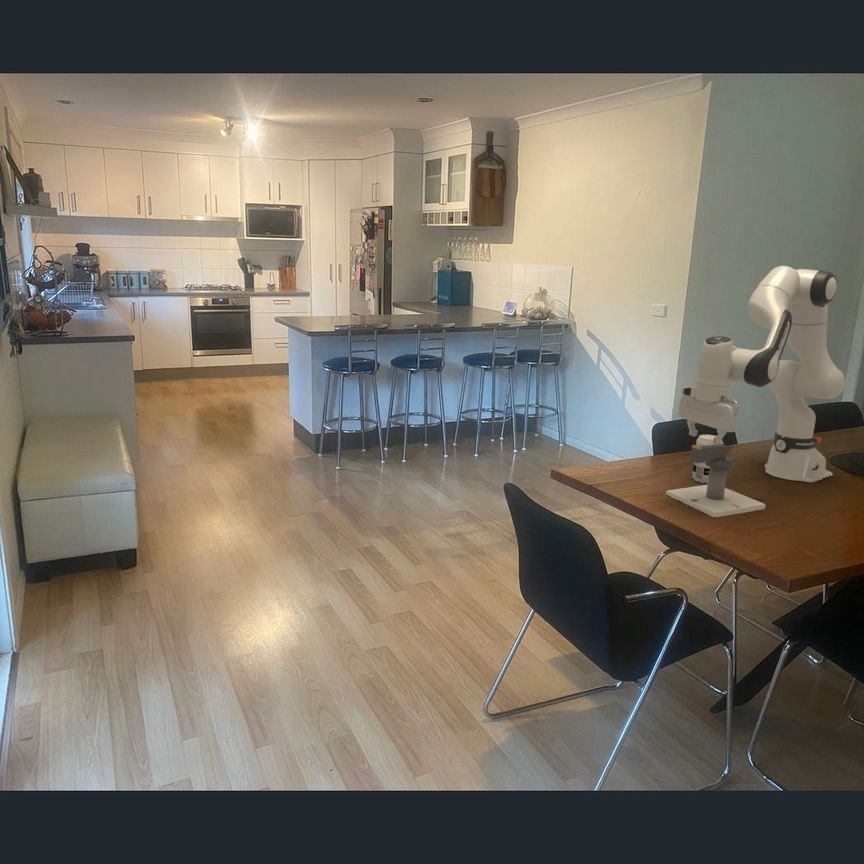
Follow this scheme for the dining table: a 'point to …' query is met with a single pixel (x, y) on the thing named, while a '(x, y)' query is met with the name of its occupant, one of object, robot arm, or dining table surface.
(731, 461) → the twist knob
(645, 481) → the dining table surface
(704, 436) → the supplement can
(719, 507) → the base
